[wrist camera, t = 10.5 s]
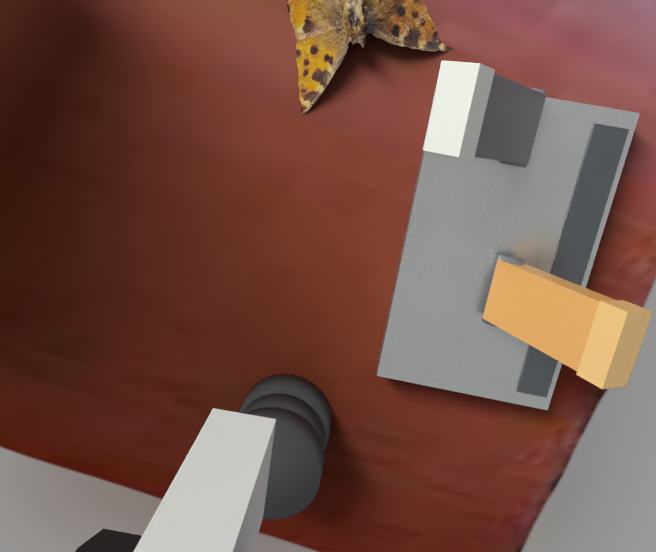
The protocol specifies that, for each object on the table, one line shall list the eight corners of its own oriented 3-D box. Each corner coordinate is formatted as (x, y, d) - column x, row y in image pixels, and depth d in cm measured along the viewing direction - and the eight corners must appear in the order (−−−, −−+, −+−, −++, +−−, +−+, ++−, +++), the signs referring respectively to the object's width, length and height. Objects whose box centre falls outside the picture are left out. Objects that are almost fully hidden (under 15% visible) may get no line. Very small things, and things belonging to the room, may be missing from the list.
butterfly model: (466, 44, 36) (473, 36, 33) (293, 120, 38) (285, 119, 35) (420, -94, 34) (423, -116, 31) (241, -5, 36) (228, -17, 33)
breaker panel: (377, 361, 41) (376, 376, 39) (436, 82, 36) (439, 78, 33) (538, 393, 41) (548, 411, 38) (622, 114, 35) (641, 113, 33)
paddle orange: (474, 318, 36) (601, 391, 28) (490, 253, 35) (628, 310, 27) (496, 317, 37) (626, 388, 29) (513, 255, 36) (653, 309, 28)
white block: (502, 162, 34) (422, 152, 27) (521, 89, 33) (442, 58, 26) (533, 168, 33) (458, 159, 26) (553, 93, 32) (480, 61, 25)
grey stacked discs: (238, 444, 44) (209, 506, 37) (249, 366, 42) (221, 415, 35) (323, 462, 44) (311, 529, 37) (338, 384, 42) (328, 437, 35)
